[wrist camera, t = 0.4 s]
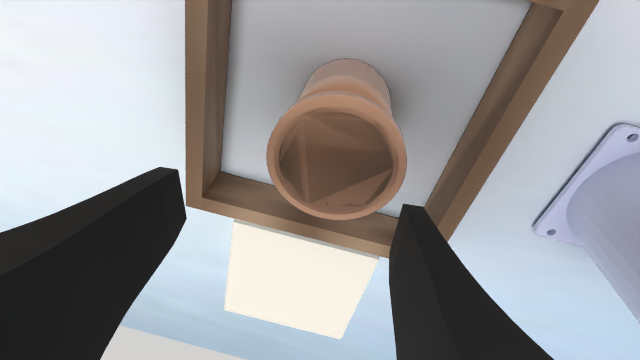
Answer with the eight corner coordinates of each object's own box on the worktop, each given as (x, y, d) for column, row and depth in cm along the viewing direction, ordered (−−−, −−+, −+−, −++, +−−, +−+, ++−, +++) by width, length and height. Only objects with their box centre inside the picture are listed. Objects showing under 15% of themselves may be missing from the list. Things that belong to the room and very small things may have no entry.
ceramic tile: (379, 251, 25) (379, 259, 24) (341, 331, 31) (340, 339, 31) (237, 214, 25) (233, 222, 24) (227, 302, 31) (224, 309, 30)
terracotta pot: (410, 68, 18) (430, 121, 12) (377, 156, 21) (379, 233, 15) (308, 40, 18) (277, 80, 12) (289, 133, 21) (258, 201, 15)
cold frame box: (567, -17, 15) (606, -12, 12) (424, 236, 24) (430, 269, 21) (216, -115, 14) (184, -130, 12) (205, 179, 23) (185, 205, 21)
